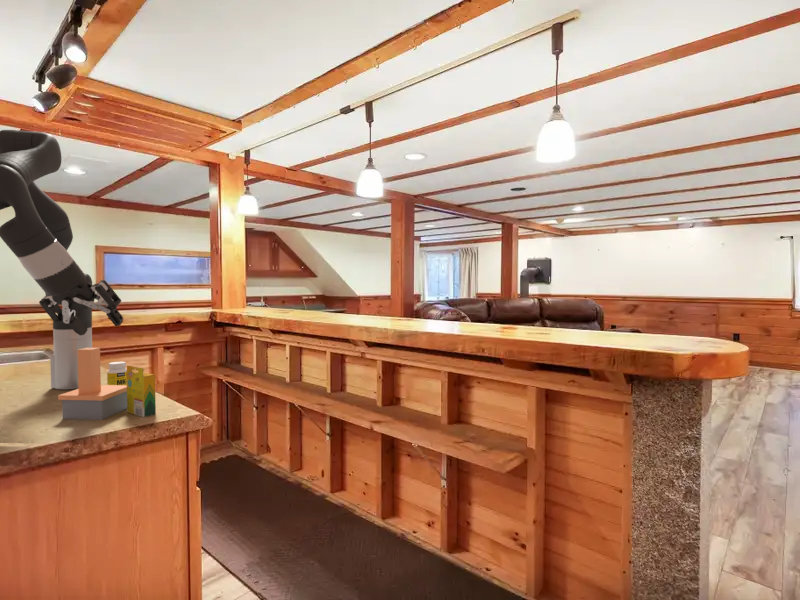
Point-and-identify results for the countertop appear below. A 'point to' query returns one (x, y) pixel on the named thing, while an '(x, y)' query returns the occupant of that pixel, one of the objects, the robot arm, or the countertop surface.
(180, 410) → the countertop surface
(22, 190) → the robot arm
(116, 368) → the supplement bottle
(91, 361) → the lid
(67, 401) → the tub
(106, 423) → the countertop surface
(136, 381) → the crayon box
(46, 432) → the countertop surface
